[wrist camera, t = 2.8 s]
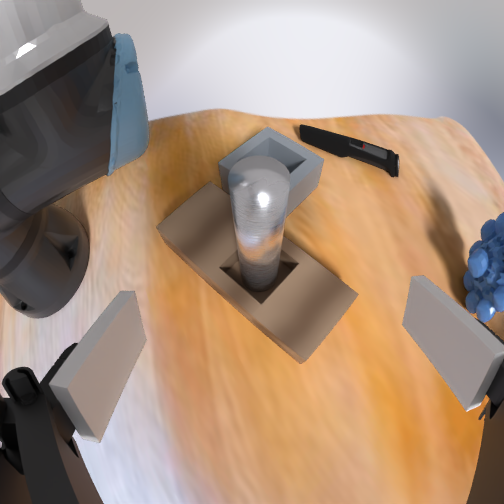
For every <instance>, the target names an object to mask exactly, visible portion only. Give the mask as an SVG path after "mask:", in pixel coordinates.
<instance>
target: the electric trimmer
mask: <svg viewBox="0 0 504 504" xmlns="http://www.w3.org/2000/svg"><path fill="white" fill-rule="evenodd" d="M300 136H301V139H302V141H304V142H306V143H308V144H311V145H313V146H315V147H318V148H320V149H322V150H325V151H327V152H329V153H332V154H334V155H337V156H339V157H348V156H349V157H352V158H355V159H358V160H360V161H363V162H366V163H368V164H371V165H374V166H376V167H379V168H381V169H384V170H386V171H388V172H390V174H391V177H394V176H396V177H398V173H399V155H398V154H395V153H394V152H393V151H392V150H387V149H384V148H382V147H379V146H376V145H373V144H370V143H367V142H364V141H361V140H357V139H354V138H351V137H347V136H343V135H340V134H336V133H333V132H329V131H326V130H322V129H318V128H315V127H311V126H307V125H300Z"/></svg>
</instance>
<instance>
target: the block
mask: <svg viewBox="0 0 504 504" xmlns="http://www.w3.org/2000/svg"><path fill="white" fill-rule="evenodd" d="M250 156H268V157H272V158H274V159H277V160H278V161H280V162H281V163H283V164H284V165H285V166H286V168H287V169H288V171H289V173H290V178H291V180H290V188H289V196H288V203H287V211H286V217H287V216H288V215H289V214H290V213H291V212H292V211H293V210H294V209H295V208H296V207H297V206H298V205H299V204H300V203H301V202H302V201H303V200H304V199H305V198H306V197H307V196H308V195H309V194H310V193H311V192H312V191H313V190H314V189H315V188H316V187H317V186H318V183H319V179H320V175H321V171H322V166H323V162H324V159H323V158H321V157H319V156H318V155H316V154H315V153H313V152H311V151H310V150H308V149H306V148H305V147H303V146H301V145H299V144H298V143H296V142H294V141H293V140H291V139H289V138H287V137H286V136H284V135H282V134H280V133H278V132H277V131H275V130H273V129H271V128H269V127H267V128H265V129H264V130H262V131H261V132H259V133H258V134H257V135H255V136H254V137H252V138H251V139H249V140H248V141H247V142H245V143H244V144H243V145H241V146H240V147H238V148H237V149H236V150H234V151H233V152H232V153H230V154H229V155H228V156H226V157H225V158H224V159H222V160H221V161H220V162H218V165H219V171H220V177H221V183H222V189H223V191H225V192H226V193H228V194H229V195H230V191H229V184H228V175H229V172H230V170H231V168H232V167H233V166H234V165H235V164H236V163H237V162H239V161H240V160H242V159H244V158H247V157H250Z"/></svg>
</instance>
